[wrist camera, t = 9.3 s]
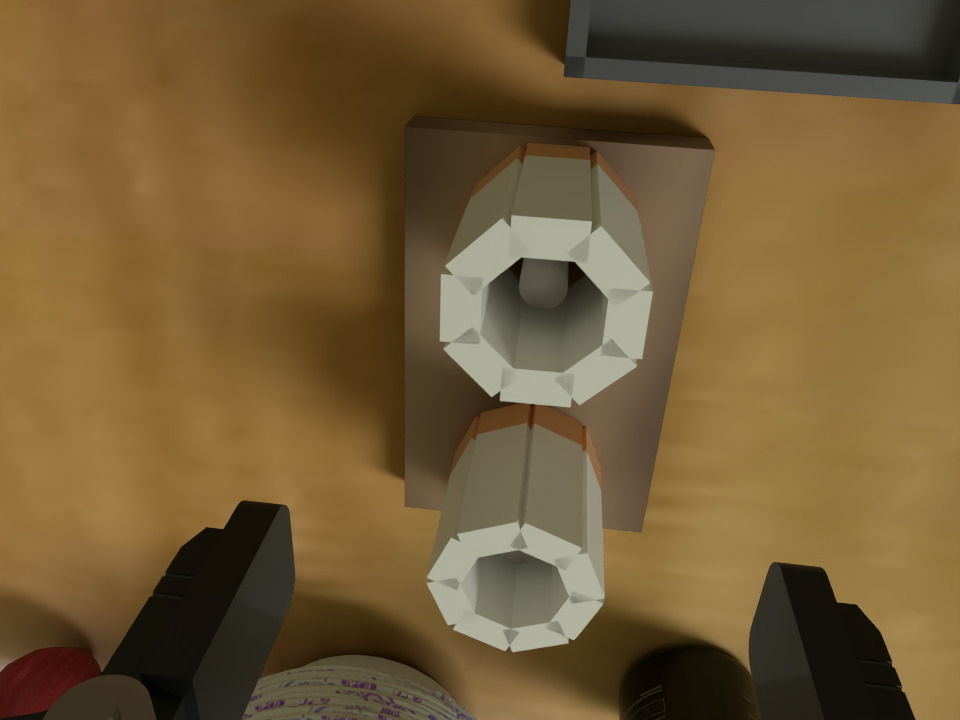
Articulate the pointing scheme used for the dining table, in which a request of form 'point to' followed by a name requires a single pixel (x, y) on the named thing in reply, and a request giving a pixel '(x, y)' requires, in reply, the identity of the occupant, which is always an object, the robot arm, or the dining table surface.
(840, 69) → the feeder tray
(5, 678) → the onion
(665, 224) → the pin board
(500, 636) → the seated sleeve
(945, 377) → the dining table surface
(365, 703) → the paper bowls
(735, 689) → the supplement bottle
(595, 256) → the sleeve
